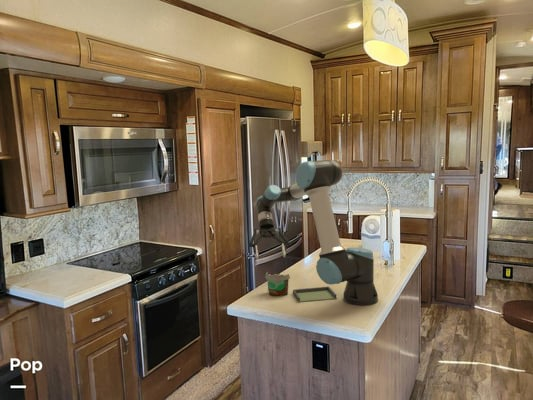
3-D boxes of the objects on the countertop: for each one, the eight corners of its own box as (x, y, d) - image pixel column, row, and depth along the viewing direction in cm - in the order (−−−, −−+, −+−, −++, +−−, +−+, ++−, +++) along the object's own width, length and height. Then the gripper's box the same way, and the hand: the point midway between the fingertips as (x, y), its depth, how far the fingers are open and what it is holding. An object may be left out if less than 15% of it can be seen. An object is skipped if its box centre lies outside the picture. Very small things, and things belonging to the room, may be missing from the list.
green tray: (336, 298, 186) (336, 294, 186) (297, 302, 184) (297, 298, 183) (329, 290, 198) (329, 286, 197) (292, 293, 195) (292, 289, 195)
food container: (261, 295, 194) (260, 275, 193) (267, 291, 200) (266, 271, 199) (285, 298, 189) (284, 277, 188) (290, 294, 194) (289, 274, 193)
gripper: (288, 224, 221) (294, 259, 208) (242, 227, 218) (245, 262, 205) (290, 216, 215) (296, 251, 202) (242, 219, 212) (246, 254, 199)
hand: (271, 257), depth 203 cm, fingers open, 13 cm apart
